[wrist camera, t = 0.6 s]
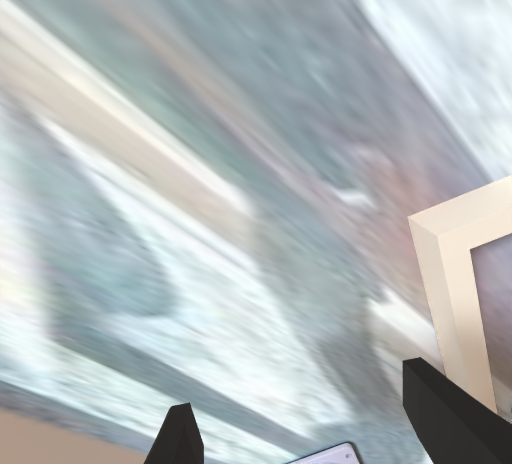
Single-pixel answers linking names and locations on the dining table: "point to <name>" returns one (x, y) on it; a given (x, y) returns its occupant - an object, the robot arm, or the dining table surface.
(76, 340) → the dining table surface
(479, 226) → the bay
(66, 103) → the dining table surface
